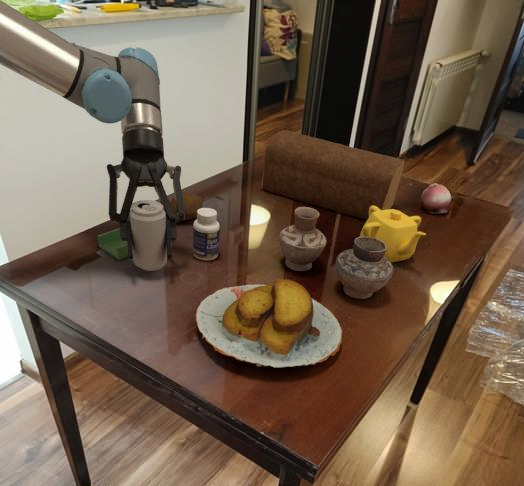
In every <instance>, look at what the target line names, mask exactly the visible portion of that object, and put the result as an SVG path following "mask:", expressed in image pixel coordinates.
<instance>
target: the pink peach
mask: <svg viewBox="0 0 524 486" xmlns="http://www.w3.org/2000/svg"><path fill="white" fill-rule="evenodd" d="M451 201H452V195H451V193H450V191H449V190H448V188H447V187H446V186H445V185H444V184H439V183H436V182H433V183H431V184H429V185H428V187H426V188H425V189H424V190H423V192H422V194H421V198H420V204H421V207H422V208H423V209H424V211H425V212H427V213H429V214H432V215H435V214H436V215H437V214H446V213H448V208H447V207H448V206H449V205H450V204H451Z"/></svg>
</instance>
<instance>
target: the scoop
mask: <svg viewBox="0 0 524 486" xmlns="http://www.w3.org/2000/svg"><path fill="white" fill-rule="evenodd" d="M96 236H97V237H96V238H97V244H98V245H97V246H98V248H100V249H101V250H103V251H105V252H106V253H107V254H109V255H111V256H112V257H114V258H115V259H117V260H118V261H121V260H123V259H126V258H128V246H127V241H122V239H121V236H120V227H117V228H115V229H112V230H110V231H106V232H103V233H100V234H97V235H96ZM132 251H133V249H132Z"/></svg>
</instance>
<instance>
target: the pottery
mask: <svg viewBox="0 0 524 486" xmlns="http://www.w3.org/2000/svg"><path fill="white" fill-rule="evenodd" d="M319 217H320V212H319V211H318V210H317V209H315V208H313V207H307V206H298V207H296V208H295V209H294V224H292V225H289V226H287V227H284V228H283V229H282V230H281V231H280V232H279V233H278V238H279V239H278V240H279V245H280V249H281V252H282V254H283V256H284V258H285V264H284V265H285V266H286V267H287V268H288V269H290V270H292V271H296V272H306V271H309V270H311V268H312V267H313V262H314V261H316V260H317V259H318V258H319V257H320V256H321V254H322V253H323V251H324V250H325V248H326V245H327V241H328V240H327V238H326V236H325V235H324V233H322V232H321V231H320V230H319V229H318V228H317V227H316V224H317V222H318V219H319ZM353 240H354V241H353V245H352V248H350V249H346V250H344V251H341V252H340V253H338V255H337V256H336V259H335V273H336V275H337V277H338V280H339V282H340V283H341V284H342V286H343V292H344V294H345V295H347V296H348V297H350V298H352V299H357V300H364V299H365V300H366V299H368V298H370V297H372V296H373V293H375V292H377V291H379V290H381V289H382V288H383V287H385V286H386V285H387V284H388V283H389V281H390V280H391V278H392V276H393V275H394V271H395V270H394V269H395V268H394V265H393V264H392V262H390V261H389V260H388V259H387V258H386V257H384V255H385V252H386V249H387V246H386V244H385V243H384V242H383V241H381V240H379V239H376V238H373V237H360V236H358V237H356V238H354V239H353Z"/></svg>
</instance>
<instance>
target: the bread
mask: <svg viewBox="0 0 524 486" xmlns="http://www.w3.org/2000/svg"><path fill="white" fill-rule="evenodd" d="M404 166H405V160H404V159H402V158H398V157H394V156H390V155H385V154H381V153H377V152H373V151H368V150H365V149H360V148H356V147H352V146H349V145H345V144H342V143H337V142H332V141H329V140H326V139H321V138H319V137H318V138H317V137H313V136H310V135H306V134H303V133H299V132H294V131H290V130H287V129H286V130H285V129H283V130H280V131H278V132H276V133H275V134H273V135H271V136H270V137H269V138H268V140H267V141H266V145H265V151H264V163H263V173H262V180H261V181H262V182H261V187H262V190H263V191H267V192H269V193H272V194H276V195H278V196H283V197H286V198H289V199H293V200H296V201H299V202H303V203H306V204H309V205H313V206H317V207H320V208H323V209H327V210H330V211H333V212H336V213H340V214H343V215H348V216H351V217H354V218H358V219H360V220H361V219H362V220H365V221H367V220H368V218H369V208H370V206H376V207H378V208H379V209H380V210H387V209H392V207H393V206H394V203H395V198H396V195H397V192H398V188H399V184H400V182H401V181H400V180H401V177H402V173H403V170H404Z"/></svg>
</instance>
